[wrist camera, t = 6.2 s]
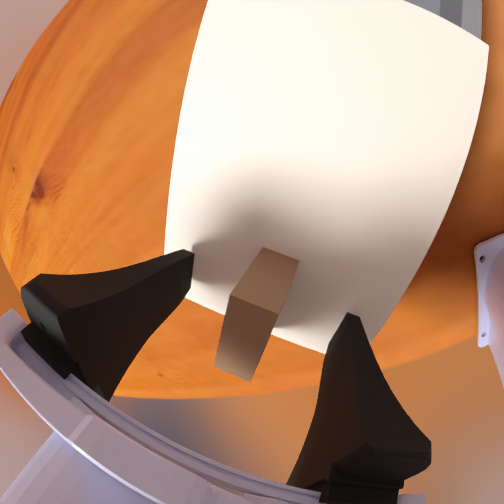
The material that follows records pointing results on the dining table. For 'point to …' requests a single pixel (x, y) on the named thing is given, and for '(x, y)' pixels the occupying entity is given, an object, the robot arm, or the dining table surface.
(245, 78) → the lid
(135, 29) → the dining table surface
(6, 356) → the robot arm
